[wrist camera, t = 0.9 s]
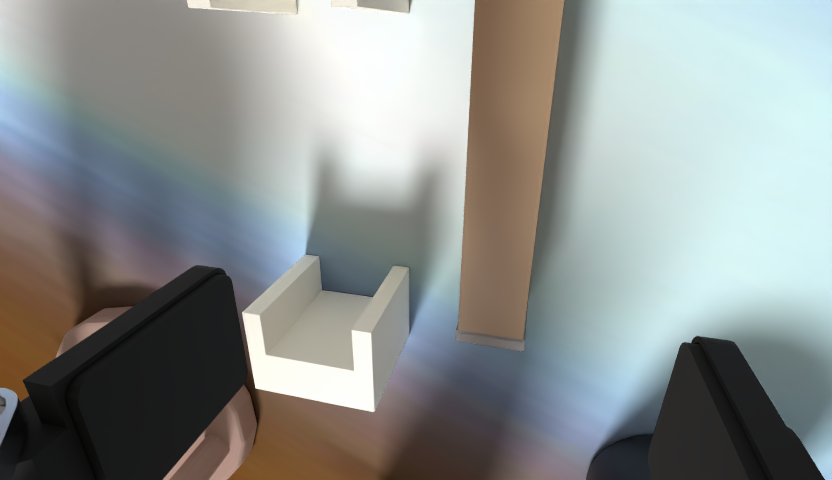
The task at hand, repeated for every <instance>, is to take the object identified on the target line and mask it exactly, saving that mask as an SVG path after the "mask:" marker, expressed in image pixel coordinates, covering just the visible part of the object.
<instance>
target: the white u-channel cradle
mask: <svg viewBox="0 0 832 480" xmlns="http://www.w3.org/2000/svg"><path fill="white" fill-rule="evenodd" d="M187 3H188V8H199V9H214V10H229V11H243V12H258V13H273V14H297V5H296V0H187ZM331 7H338V8H346V9H355V10H363V11H371V12H380V13H388V14H409V0H331ZM242 315H243V320H244V326H245V332H246V337H247V343H248V349H249V354H250V360H251V366H252V371H253V377H254V383H255V388H257V389H262V390H267V391H272V392H277V393H282V394H287V395H292V396H296V397H301V398H306V399H311V400H316V401H321V402H326V403H331V404H336V405H341V406H346V407H351V408H356V409H361V410H366V411H371V412H375V410H376V408H377V405H378V403H379V401H380V399H381V396H382V394H383V392H384V390H385V388H386V385H387V383H388V381H389V379H390V377H391V374H392V372H393V370H394V368H395V365H396V363H397V361H398V359H399V357H400V354H401V352H402V350H403V348H404V346H405V343H406V341H407V339H408V337H409V267H401V266H393V267H392V269H391V270H390V272H389V273H388V275H387V277H386V278H385V280H384V281H383V283H382V284H381V286H380V287H379V289H378V290H377V292H376V293H375V295H374V296H373V297H368V296H361V295H354V294H347V293H340V292H333V291H326V290H322V282H321V271H320V260H319V256H313V255H304V256H303V257H302V258H301V259H300V260H298V261H297V262H296V263H295V264H294V265H293V266H292V267H291V268H290V269H289V270H288V271H286V272H285V273H284V274H283V275H282V276H281V277H280V278H279V279H278V280H277V281H276V282H275V283H273V284H272V285H271V286H270V287H269V288H268V289H267V290H266V291H265V292H264V293H263V294H262V295H260V296H259V297H258V298H257V299H256V300H255V301H254V302H253V303H252V304H251V305H250V306H249V307H247V308H246V309H245V310H244V311H243V312H242Z"/></svg>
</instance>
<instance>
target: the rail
mask: <svg viewBox="0 0 832 480" xmlns="http://www.w3.org/2000/svg"><path fill="white" fill-rule="evenodd" d="M563 7H564V0H475V12H474V31H473V50H472V70H471V89H470V109H469V128H468V148H467V167H466V187H465V206H464V226H463V245H462V264H461V284H460V303H459V322H458V325H457V329H456V341H459V342H465V343H471V344H478V345H484V346H490V347H497V348H503V349H509V350H516V351H522V352H524V344H525V333H526V318H527V304H528V294H529V286H530V277H531V269H532V261H533V253H534V245H535V237H536V228H537V220H538V212H539V204H540V196H541V187H542V179H543V171H544V163H545V155H546V146H547V138H548V130H549V122H550V114H551V105H552V97H553V89H554V81H555V73H556V65H557V56H558V48H559V40H560V32H561V24H562V15H563Z"/></svg>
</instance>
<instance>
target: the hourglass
mask: <svg viewBox="0 0 832 480" xmlns="http://www.w3.org/2000/svg"><path fill="white" fill-rule="evenodd" d="M132 307H133V306H130V307H116V308H105V309H102V310H101V311H99V312H97V313H96V314H94V315H93V316H91V317H89V318H88V319H86V320H85V321H83V322H82V323H80V324H78V325H77V326H75V327H74V328H72V329H71V330H69V331H68V332H67V333H65V336H64V338H63V341H62V343H61V345H60V348H59V350H58V352H57V355H56V358H57V357H58V356H60V355H61V354H63V353H64V352H66V351H67V350H69V349H70V348H72V347H73V346H75V345H76V344H78V343H79V342H81V341H82V340H84V339H85V338H87V337H88V336H90V335H91V334H93V333H94V332H96V331H97V330H99V329H100V328H102V327H103V326H105V325H106V324H108V323H109V322H111V321H112V320H114V319H115V318H117V317H118V316H120V315H121V314H123V313H124V312H126V311H127V310H129V309H130V308H132ZM26 398H27V397H26ZM22 401H23V400H22ZM256 428H257V422H256V417H255V413H254V409H253V405H252V400H251V396H250V393H249V392H248V390H247V388H246V387H245V385H243V386H242V387H241V389H240V390H239V391H238V392H237V393H236V394H235V396H234V397H233V398H232V399H231V400H230V401H229V403H228V404H227V405H226V406H225V407H224V408H223V410H222V411H221V412H220V413H219V414H218V415H217V417H216V418H215V419H214V420H213V421H212V422H211V424H210V425H209V426H208V427H207V428H206V430H205V431H204V432H203V433H202V434H201V435H200V437H199V438H198V439H197V440H196V441H195V442H194V444H193V445H192V446H191V447H190V448H189V449H188V451H187V452H186V453H185V454H184V455H183V456H182V458H181V459H180V460H179V461H178V462H177V464H176V465H175V466H174V467H173V468H172V469H171V471H170V472H169V473H168V474H167V475H166V476H165V478H164V479H163V480H227V479H228V478H229V477H230V476H231V475H232V474H233V473H234V472H235V471H236V470H237V469H238V468H239V467H240V466H241V464H242V463H243V462H244V461H245V459H246V458H247V456H248V455H249V454H250V452H251V450H252V448H253V443H254V438H255V433H256Z"/></svg>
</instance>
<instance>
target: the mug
mask: <svg viewBox="0 0 832 480" xmlns="http://www.w3.org/2000/svg"><path fill="white" fill-rule="evenodd" d="M652 437H653V435H642V436H637V437H632V438H628V439H625V440H622V441H619V442H617V443H615V444H613V445H611V446H609V447H608V448H606V449H605V450H603V451H602V452H601V453H600V454H599V455H598V456H597V457H596V458H595V460H594V461H593V463H592V464H591V466H590V468H589V471H588V473H587V477H586V480H652V479H651V475H650V471H649V465H648V453H649V447H650V444H651V440H652Z"/></svg>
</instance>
